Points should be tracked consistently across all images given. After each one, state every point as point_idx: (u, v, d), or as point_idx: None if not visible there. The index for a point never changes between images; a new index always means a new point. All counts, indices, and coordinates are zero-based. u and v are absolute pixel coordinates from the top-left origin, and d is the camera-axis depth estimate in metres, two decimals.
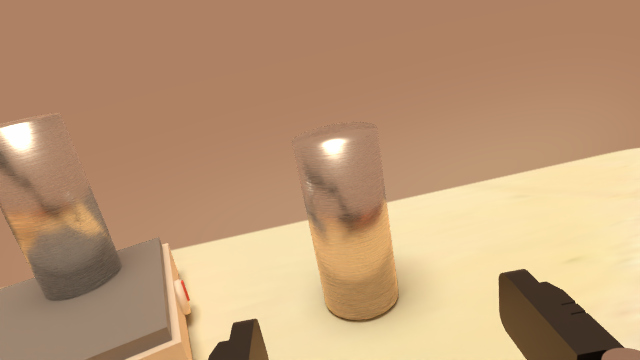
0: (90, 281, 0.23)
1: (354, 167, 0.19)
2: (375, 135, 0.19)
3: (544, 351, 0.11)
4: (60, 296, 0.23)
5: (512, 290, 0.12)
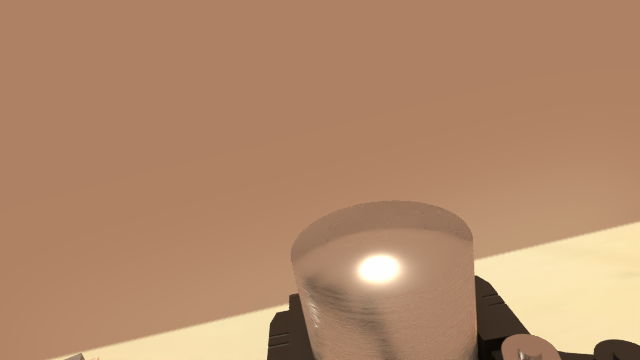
0: None
1: (432, 335, 0.08)
2: (472, 252, 0.09)
3: None
4: None
5: None
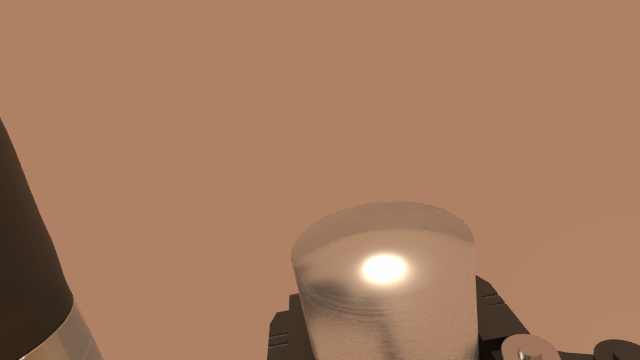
0: None
1: (433, 336, 0.08)
2: (473, 253, 0.09)
3: None
4: None
5: None
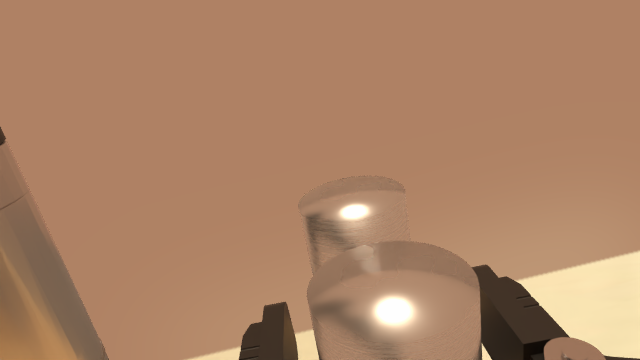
0: None
1: None
2: (479, 299, 0.10)
3: (500, 342, 0.11)
4: None
5: None
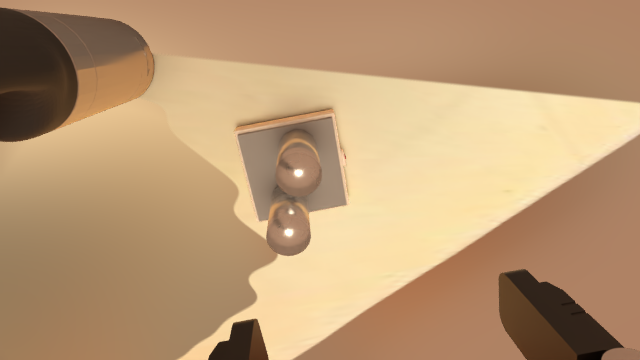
0: None
1: None
2: (306, 246, 0.40)
3: (545, 351, 0.11)
4: None
5: (512, 290, 0.12)
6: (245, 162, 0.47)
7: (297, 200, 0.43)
